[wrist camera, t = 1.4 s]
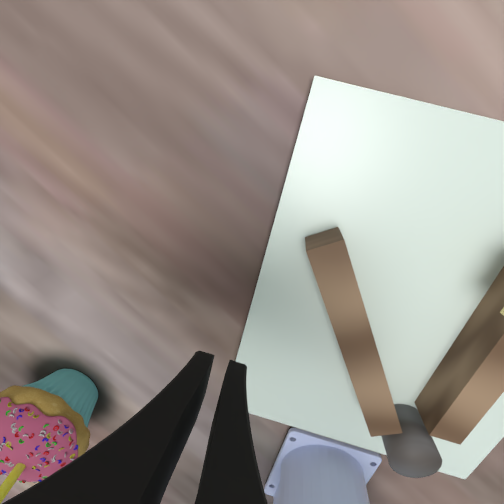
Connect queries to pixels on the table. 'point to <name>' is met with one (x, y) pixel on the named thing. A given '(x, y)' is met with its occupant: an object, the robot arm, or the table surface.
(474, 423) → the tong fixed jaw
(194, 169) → the table surface
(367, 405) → the tong jaw
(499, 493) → the table surface
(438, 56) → the table surface
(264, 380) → the serving board
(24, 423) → the cupcake
